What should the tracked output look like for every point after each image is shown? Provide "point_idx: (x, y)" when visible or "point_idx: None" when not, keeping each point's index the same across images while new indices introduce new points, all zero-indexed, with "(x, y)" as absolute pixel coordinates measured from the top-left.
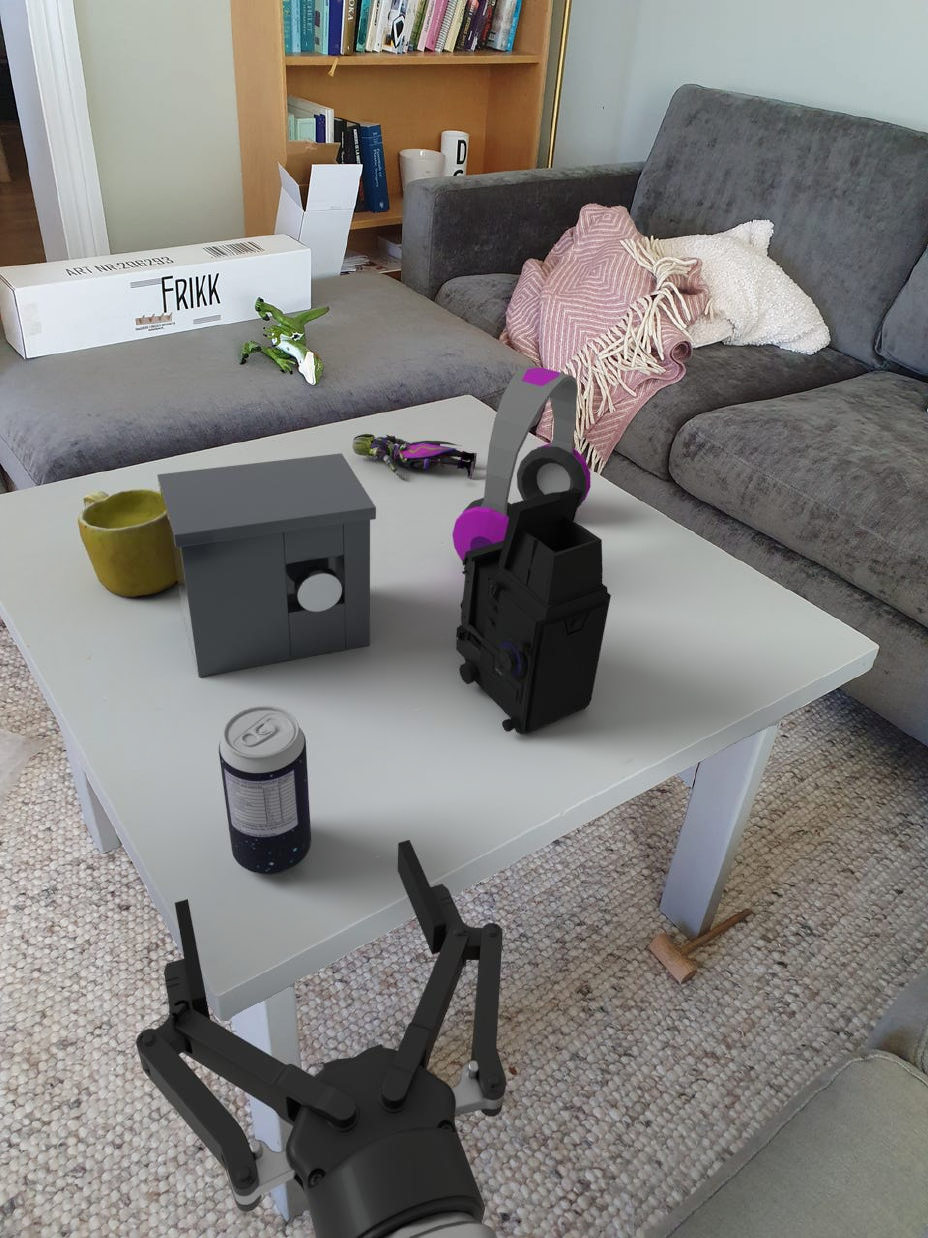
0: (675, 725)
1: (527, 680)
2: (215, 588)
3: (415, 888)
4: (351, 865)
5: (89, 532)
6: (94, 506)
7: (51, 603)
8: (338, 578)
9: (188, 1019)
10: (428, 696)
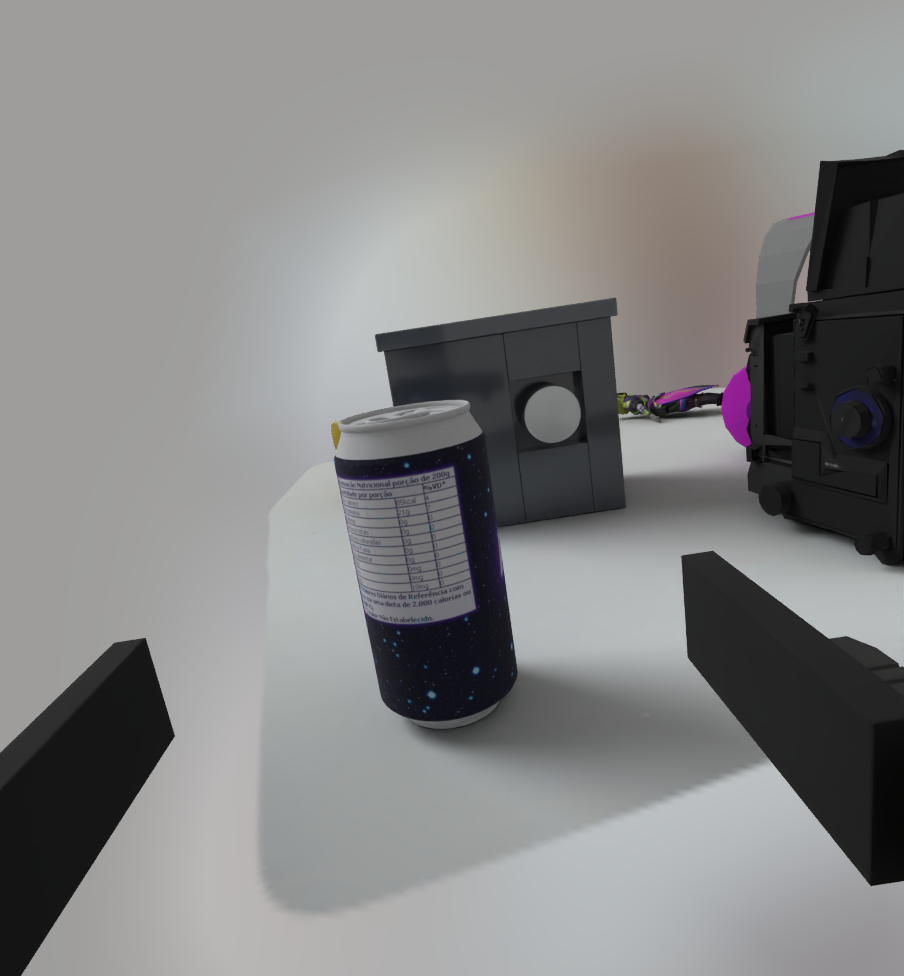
0: None
1: (897, 445)
2: None
3: (753, 639)
4: (592, 726)
5: (336, 427)
6: None
7: (304, 507)
8: None
9: None
10: (714, 539)
